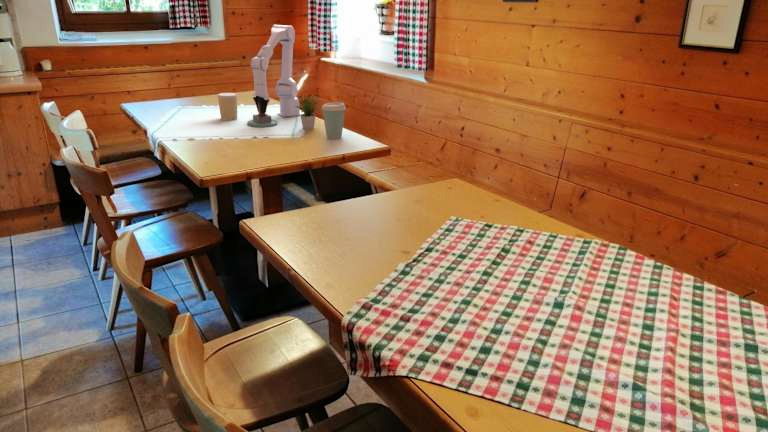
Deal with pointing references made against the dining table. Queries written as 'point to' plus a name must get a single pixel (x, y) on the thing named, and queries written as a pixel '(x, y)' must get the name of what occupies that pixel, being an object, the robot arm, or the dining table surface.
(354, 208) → the dining table surface
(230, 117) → the coffee cup
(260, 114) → the walnut peg
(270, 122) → the candle dish
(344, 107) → the disposable coffee cup
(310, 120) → the house plant
